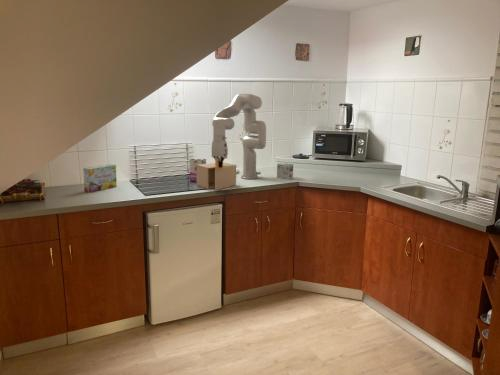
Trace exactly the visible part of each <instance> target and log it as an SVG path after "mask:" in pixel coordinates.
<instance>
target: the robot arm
mask: <svg viewBox="0 0 500 375" xmlns="http://www.w3.org/2000/svg"><path fill="white" fill-rule="evenodd" d="M262 106H263V100H262V98H261V97H260V96H258V95H255V94H252V93H237V94H236V95H235V96H234V97H233V99H232V101H230V104H229V105H228V106H225V108H223V109H221V110H219V111H217V113H216V114H215V116H214V117H213V119H212V123H211V124H212V127H213V129H212V131H213V132H212V133H213V137H212V138H213V140H212V143H211V158H213V159H214V160H215V158H220V160H219V168H221V167H223V162H225V161H224V160H225V159H228V156H229V155H228V153H229V150H228V141H227V136H226V130H228V131H230V130H233V129H234V127H235V120H234V119H233V118H234V117H237V116H239V115H240V113H241V111H242V112H243V117H244V120H243V121H244V122H243V123H244V124H243V125H244V132H245V133H246V135H245V136H243V138H242V142H241V144H242V148H243V149H242V150H243V156H242V157H243V159H242V160H243V162H242V165H243V166H242V168H243V169H242V175H241V177H240V178H241V179H243V180H257V179H258V178H259V176H258V175H262V172H261V171H257V153H256V150H263V149H265V148H266V146H267V125H266V122H265V121H264V120H257V114H256V113H257V112H256V110H258V109H260V108H261V107H262ZM250 134H251V135H250ZM252 134H253V135H252Z"/></svg>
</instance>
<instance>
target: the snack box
mask: <svg viewBox="0 0 500 375" xmlns="http://www.w3.org/2000/svg"><path fill="white" fill-rule="evenodd" d="M82 173H83V185H84V188H83V190H84V192H86V193H93V192H94V193H95V192H98V191H103V190H104V191H105V190H108V189H113V188H114V189H115V188H117V165H116V164H112V163H109V164H108V163H107V164H103V165H102V164H101V165H97V166H96V165H95V166H90V167H89V166H88V167H84V168H83V172H82Z"/></svg>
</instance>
